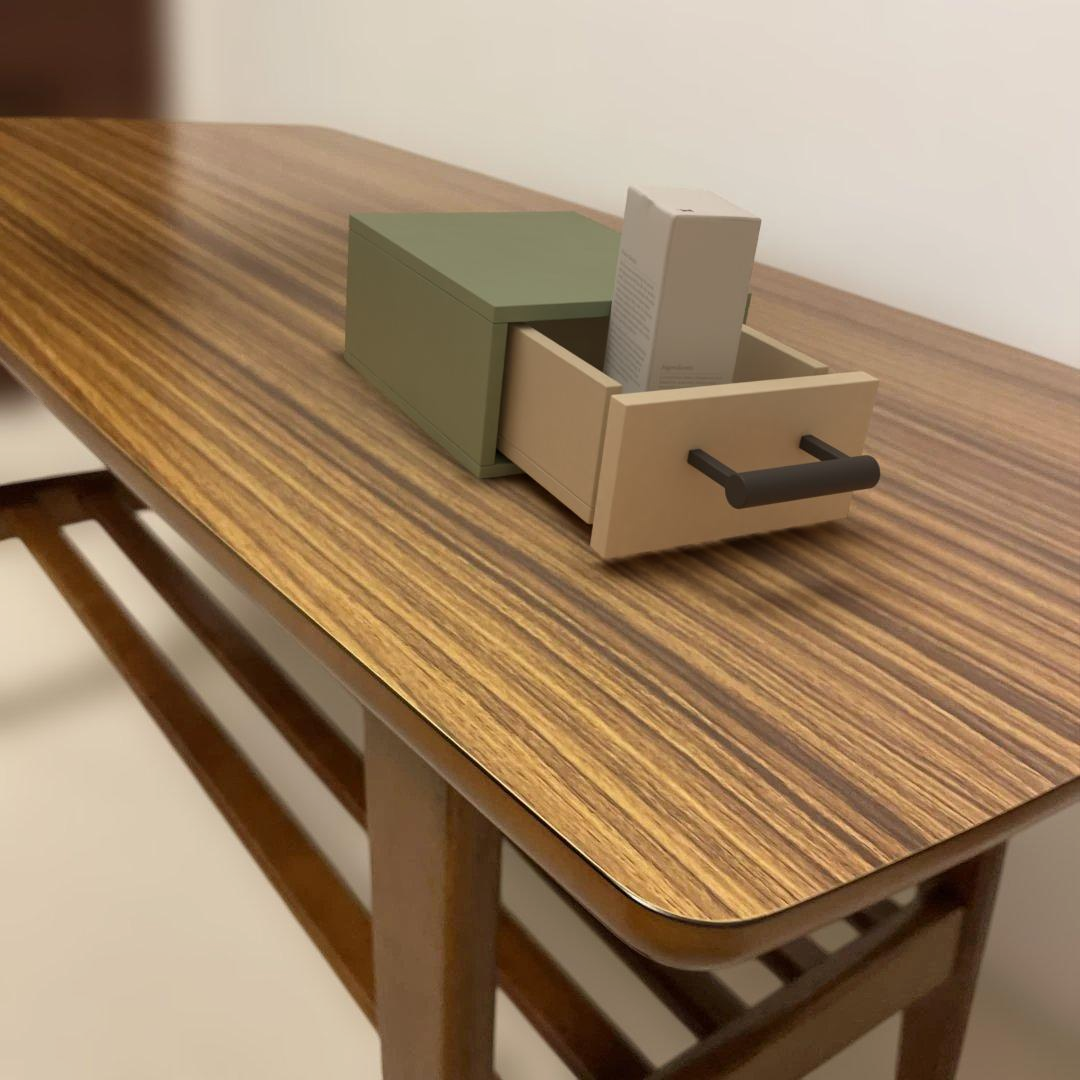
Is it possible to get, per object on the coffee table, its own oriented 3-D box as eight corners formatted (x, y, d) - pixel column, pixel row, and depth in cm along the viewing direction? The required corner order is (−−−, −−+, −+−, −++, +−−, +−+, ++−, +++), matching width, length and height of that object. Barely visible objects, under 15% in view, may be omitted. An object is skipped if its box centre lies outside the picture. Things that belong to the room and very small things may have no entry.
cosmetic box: (717, 479, 57) (766, 218, 51) (631, 481, 56) (671, 213, 50) (671, 429, 62) (711, 187, 57) (590, 429, 61) (623, 182, 55)
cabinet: (723, 451, 66) (752, 293, 62) (478, 482, 59) (494, 306, 55) (558, 346, 79) (574, 211, 75) (343, 361, 72) (348, 213, 68)
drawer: (912, 558, 54) (951, 413, 51) (661, 608, 48) (689, 446, 45) (650, 395, 70) (668, 276, 67) (435, 415, 63) (444, 286, 60)
